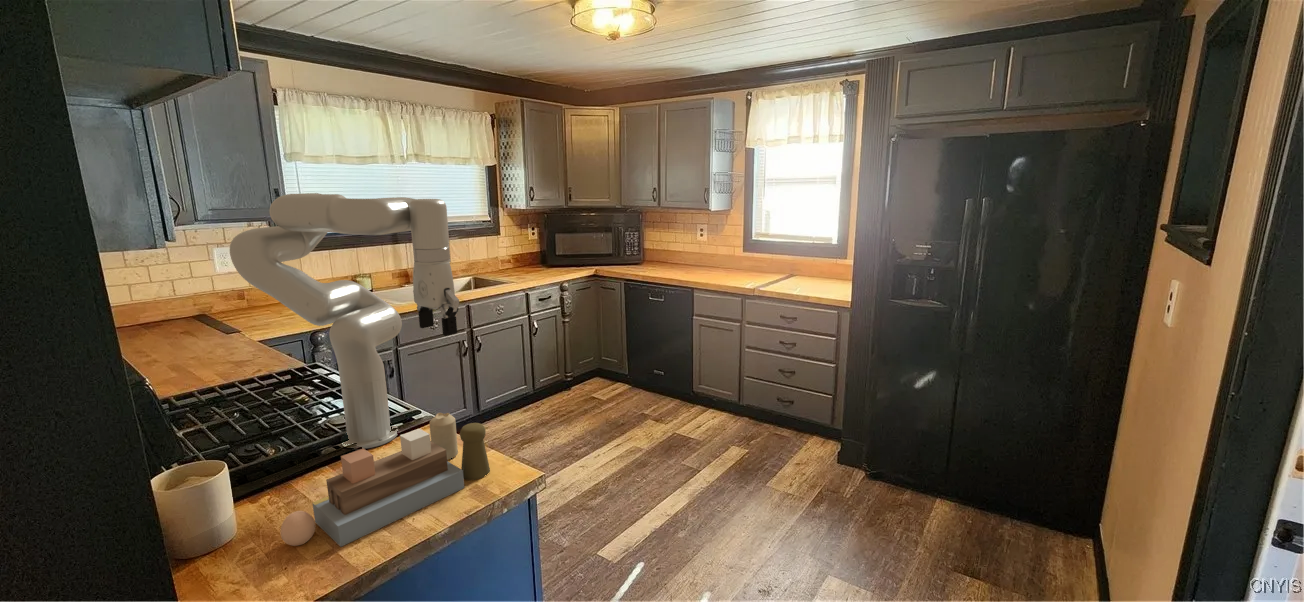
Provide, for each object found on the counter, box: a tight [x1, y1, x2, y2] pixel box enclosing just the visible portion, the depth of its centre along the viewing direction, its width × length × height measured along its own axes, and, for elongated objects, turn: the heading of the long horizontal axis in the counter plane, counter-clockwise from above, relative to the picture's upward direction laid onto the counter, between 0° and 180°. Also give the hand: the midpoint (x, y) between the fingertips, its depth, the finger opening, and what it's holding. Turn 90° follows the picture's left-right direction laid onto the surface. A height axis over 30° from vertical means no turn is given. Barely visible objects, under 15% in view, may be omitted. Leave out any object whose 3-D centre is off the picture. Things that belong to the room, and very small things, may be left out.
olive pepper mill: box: [459, 422, 491, 481], centre depth 118 cm, size 6×6×11 cm
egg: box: [279, 510, 316, 547], centre depth 95 cm, size 5×5×6 cm
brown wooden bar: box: [325, 440, 448, 515], centre depth 106 cm, size 6×20×4 cm, turn 141°
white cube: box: [399, 428, 431, 460], centre depth 110 cm, size 4×4×4 cm
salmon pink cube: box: [340, 448, 375, 483], centre depth 101 cm, size 4×4×4 cm
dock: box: [312, 460, 465, 548], centre depth 107 cm, size 11×24×4 cm, turn 141°
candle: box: [429, 412, 459, 461], centre depth 125 cm, size 6×6×10 cm
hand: (438, 330), depth 125 cm, fingers open, 9 cm apart
